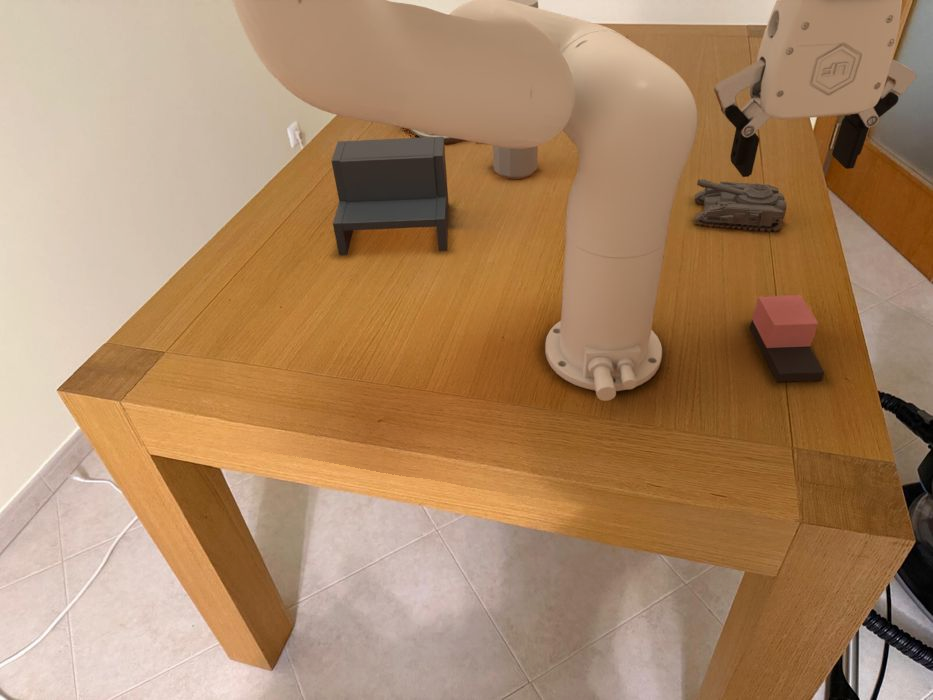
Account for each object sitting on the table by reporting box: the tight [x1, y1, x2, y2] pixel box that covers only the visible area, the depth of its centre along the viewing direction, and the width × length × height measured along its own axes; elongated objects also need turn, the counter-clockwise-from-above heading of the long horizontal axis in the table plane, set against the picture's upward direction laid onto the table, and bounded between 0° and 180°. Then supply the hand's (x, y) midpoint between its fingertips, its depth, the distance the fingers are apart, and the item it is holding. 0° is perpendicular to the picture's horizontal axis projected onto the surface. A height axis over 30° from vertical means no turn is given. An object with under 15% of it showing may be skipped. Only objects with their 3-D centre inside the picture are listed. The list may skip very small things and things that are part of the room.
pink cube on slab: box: [749, 294, 825, 383], centre depth 73 cm, size 9×5×4 cm, turn 0°
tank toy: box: [694, 178, 788, 232], centre depth 94 cm, size 12×10×5 cm
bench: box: [331, 137, 450, 256], centre depth 93 cm, size 12×15×11 cm
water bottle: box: [492, 0, 539, 180], centre depth 101 cm, size 9×8×25 cm
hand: (791, 166), depth 65 cm, fingers open, 9 cm apart
